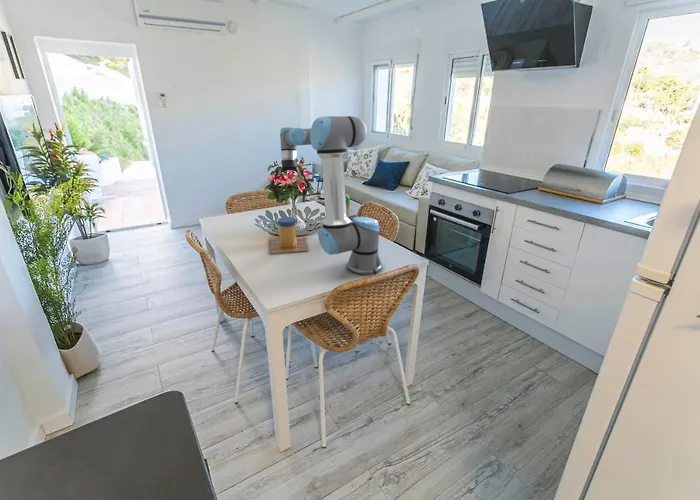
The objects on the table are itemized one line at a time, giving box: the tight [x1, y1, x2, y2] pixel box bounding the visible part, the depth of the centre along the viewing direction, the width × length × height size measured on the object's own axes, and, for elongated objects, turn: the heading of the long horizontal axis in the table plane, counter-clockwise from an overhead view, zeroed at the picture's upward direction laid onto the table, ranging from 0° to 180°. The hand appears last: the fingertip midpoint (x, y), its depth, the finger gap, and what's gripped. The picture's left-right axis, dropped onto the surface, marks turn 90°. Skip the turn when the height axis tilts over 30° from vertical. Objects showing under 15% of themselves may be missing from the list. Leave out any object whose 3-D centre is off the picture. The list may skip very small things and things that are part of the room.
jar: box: [278, 224, 297, 247], centre depth 179 cm, size 8×8×13 cm
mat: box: [270, 236, 308, 255], centre depth 181 cm, size 20×18×1 cm
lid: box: [277, 216, 297, 227], centre depth 176 cm, size 9×9×2 cm
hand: (290, 202), depth 180 cm, fingers open, 13 cm apart
